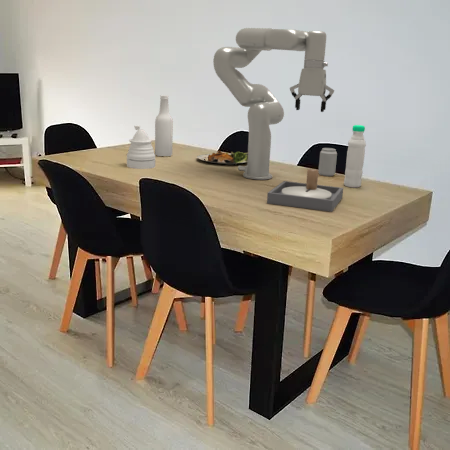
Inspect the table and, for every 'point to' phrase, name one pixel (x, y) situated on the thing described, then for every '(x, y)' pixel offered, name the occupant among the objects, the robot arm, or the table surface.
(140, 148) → the honey pot
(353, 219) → the table surface
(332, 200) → the dial frame
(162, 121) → the alcohol
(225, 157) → the plate of food
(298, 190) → the dial
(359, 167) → the water bottle
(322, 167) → the can
